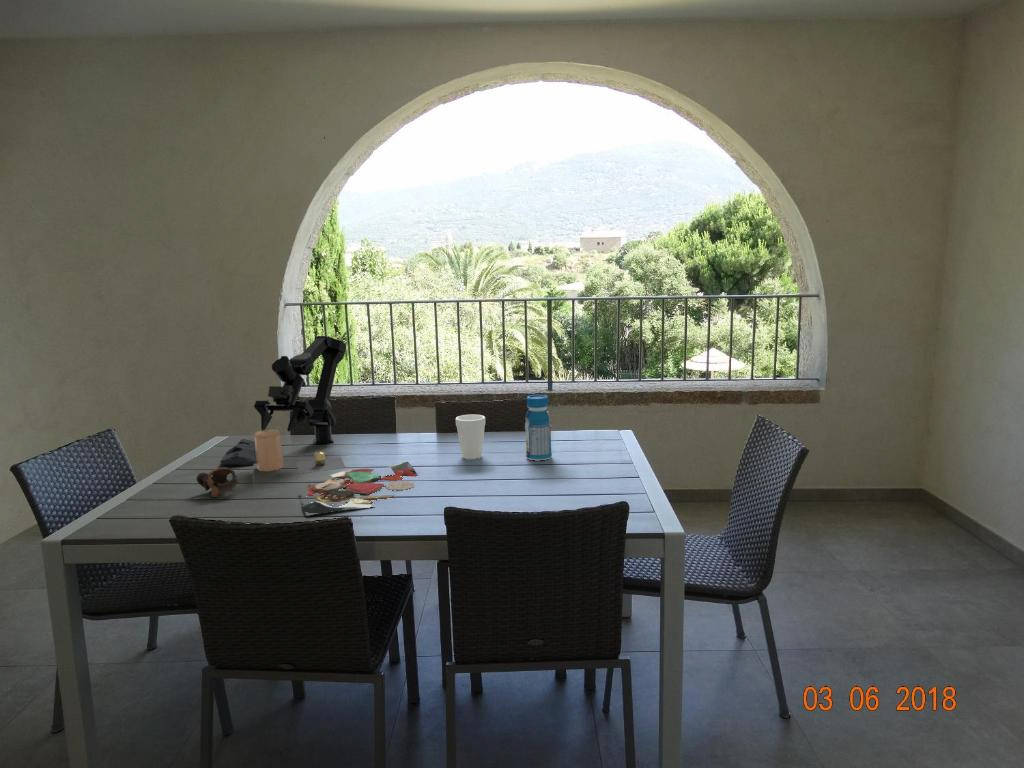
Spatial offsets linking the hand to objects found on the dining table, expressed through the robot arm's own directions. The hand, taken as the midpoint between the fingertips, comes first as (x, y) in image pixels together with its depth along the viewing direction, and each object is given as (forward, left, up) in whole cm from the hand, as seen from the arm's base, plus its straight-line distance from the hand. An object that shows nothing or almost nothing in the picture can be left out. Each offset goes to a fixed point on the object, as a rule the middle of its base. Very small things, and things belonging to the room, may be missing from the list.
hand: (275, 430), depth 234 cm
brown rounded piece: (+22, -17, -12) cm, 31 cm away
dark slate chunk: (-15, -10, -12) cm, 22 cm away
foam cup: (+18, +59, -12) cm, 63 cm away
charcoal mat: (+8, +12, -11) cm, 19 cm away
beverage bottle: (+29, +78, -12) cm, 84 cm away
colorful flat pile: (+37, +21, -12) cm, 44 cm away
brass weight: (+8, +12, -11) cm, 18 cm away
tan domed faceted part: (+4, -3, -11) cm, 12 cm away
